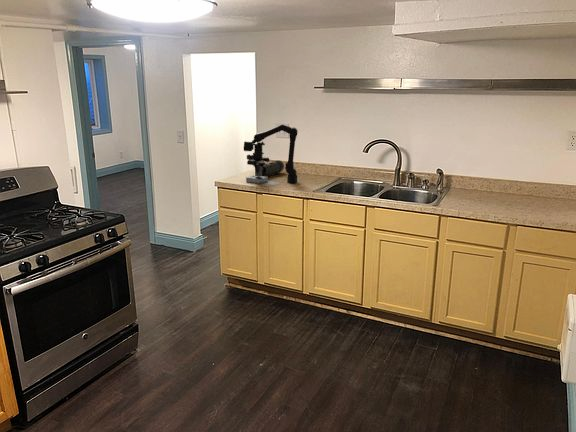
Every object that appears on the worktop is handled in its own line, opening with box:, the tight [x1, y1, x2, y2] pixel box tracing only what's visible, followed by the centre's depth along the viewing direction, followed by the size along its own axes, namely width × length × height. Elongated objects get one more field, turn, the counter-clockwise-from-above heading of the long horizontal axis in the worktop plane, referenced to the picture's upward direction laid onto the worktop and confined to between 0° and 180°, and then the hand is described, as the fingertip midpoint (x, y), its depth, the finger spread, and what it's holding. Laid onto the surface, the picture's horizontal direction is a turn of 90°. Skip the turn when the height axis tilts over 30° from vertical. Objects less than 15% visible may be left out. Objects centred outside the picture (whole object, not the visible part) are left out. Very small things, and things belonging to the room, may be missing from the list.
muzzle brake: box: [262, 159, 285, 177], centre depth 369 cm, size 10×28×10 cm, turn 152°
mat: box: [262, 181, 280, 186], centre depth 340 cm, size 9×9×1 cm
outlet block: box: [245, 174, 269, 185], centre depth 344 cm, size 12×10×4 cm
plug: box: [254, 166, 262, 177], centre depth 341 cm, size 4×3×7 cm, turn 54°
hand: (258, 172), depth 342 cm, fingers closed on plug, 3 cm apart
